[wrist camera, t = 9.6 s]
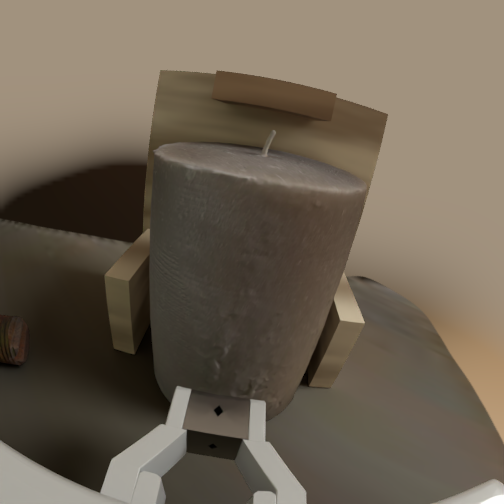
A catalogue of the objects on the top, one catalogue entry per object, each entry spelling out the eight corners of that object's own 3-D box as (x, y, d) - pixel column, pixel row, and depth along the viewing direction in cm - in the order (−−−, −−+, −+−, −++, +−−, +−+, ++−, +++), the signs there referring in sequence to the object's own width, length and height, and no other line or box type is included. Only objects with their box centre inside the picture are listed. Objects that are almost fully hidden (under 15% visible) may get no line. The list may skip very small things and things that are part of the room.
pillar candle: (296, 338, 23) (351, 146, 16) (293, 444, 14) (414, 171, 8) (178, 313, 23) (195, 117, 17) (129, 405, 14) (108, 117, 8)
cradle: (335, 388, 18) (442, 117, 11) (108, 347, 18) (110, 52, 10) (320, 314, 26) (380, 114, 19) (148, 282, 26) (167, 72, 18)
